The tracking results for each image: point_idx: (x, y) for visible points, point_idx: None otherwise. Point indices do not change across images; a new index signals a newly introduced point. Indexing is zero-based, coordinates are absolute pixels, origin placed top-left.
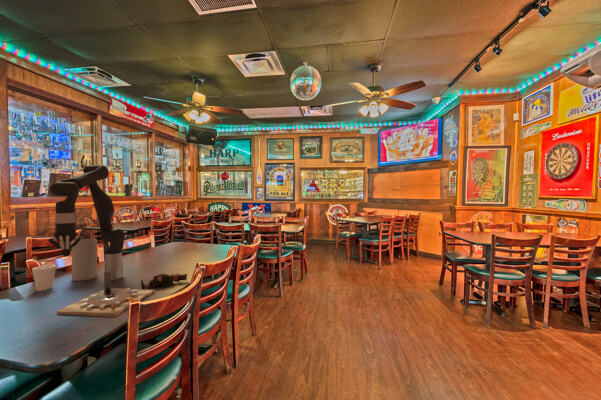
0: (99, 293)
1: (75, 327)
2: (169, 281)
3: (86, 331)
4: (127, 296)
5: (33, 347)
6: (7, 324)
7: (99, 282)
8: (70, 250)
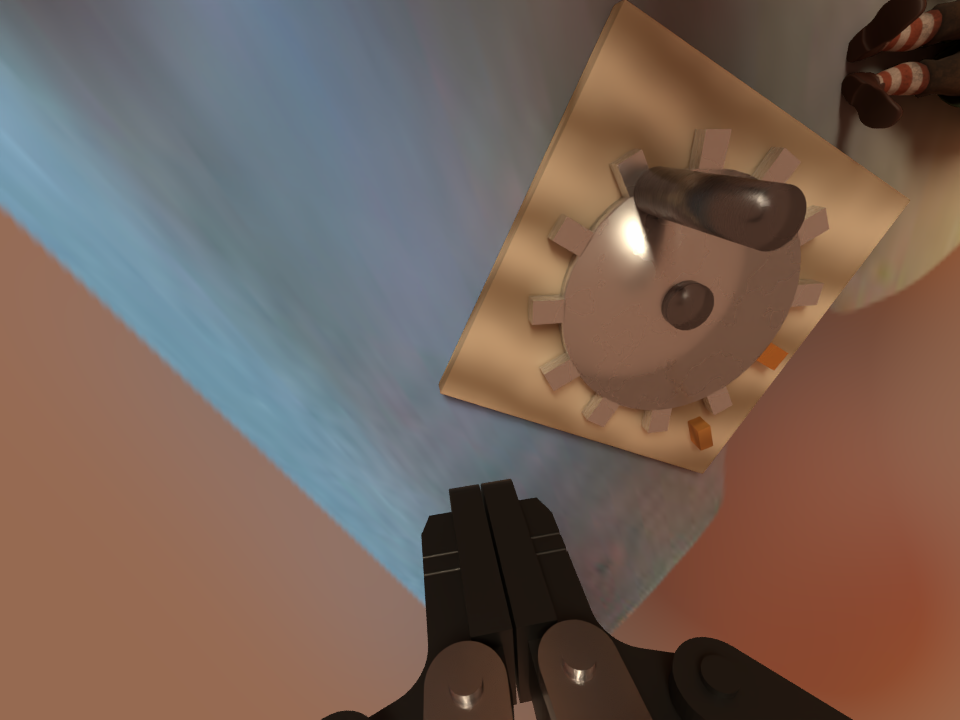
0: (587, 146)
1: (574, 516)
2: None
3: (619, 545)
4: (767, 328)
5: None
6: (261, 442)
7: None
8: (576, 578)
